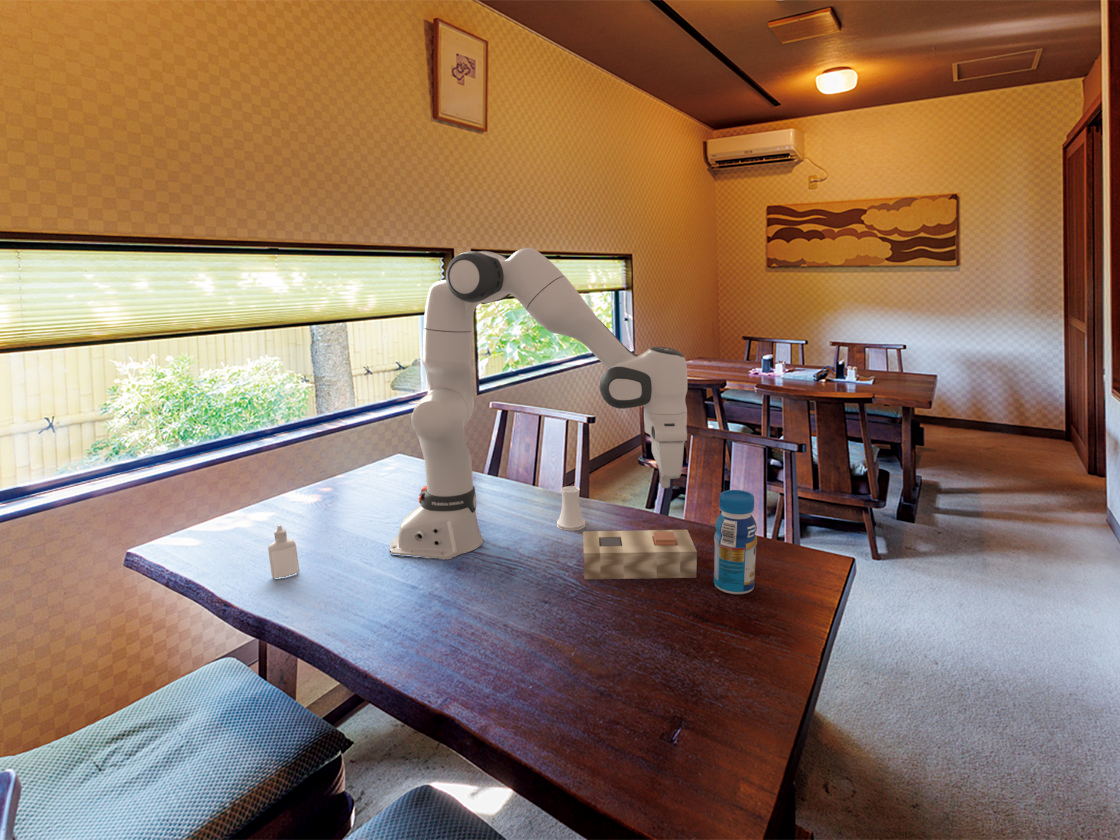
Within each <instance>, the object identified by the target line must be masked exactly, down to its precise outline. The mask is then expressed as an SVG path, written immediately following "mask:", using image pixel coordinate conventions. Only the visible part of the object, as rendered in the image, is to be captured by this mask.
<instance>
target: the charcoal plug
mask: <svg viewBox="0 0 1120 840" xmlns="http://www.w3.org/2000/svg"><path fill="white" fill-rule="evenodd" d="M600 546H621V542H620V537H618V538H600Z"/></svg>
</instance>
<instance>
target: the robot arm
mask: <svg viewBox="0 0 1120 840" xmlns="http://www.w3.org/2000/svg"><path fill="white" fill-rule="evenodd" d="M510 296H513V297H514V298H515V299H516V300H517V301H518V302H519V303H520V304H521V305H522V307H523V308H524V309H525V310H526V311H527V313H528V314H529V315H530V316H531V317H532V319H534V321H536V323H538V324H540V325H541V326H542V327H543V328H545V330H546V331H548V332H550V333H553V334H558V335H562V336H566V337H569V338H572V339H574V340H577V341H578V342H580V343H582V344H583V345H584V346H585V347H586V348H587V349H588V350H589V351H591V354H593V356H595V357H596V358H597V359H598V360H599V361H600V362H601V363H602V365H603V366H605V368H606V369H607V370H606V371H605V372H604V374H603V375H602V376H601V378H600V381H599V392H600V395H601V397H602V399H603V400H604V402H605V403H606V404H608V405H609V406H610V407H612V408H615V409H631V408H637V407H644V432H645V433H646V434H647V435H649V436H650V440H651V453H652V456H653V458H654V461H655V462H656V465H657V467H658V472H659V484H660V487H661V488H663V489H669V488H670V487H671V480H673V479H677V480H678V479H679V478H680V477H681V474H682V470H683V462H684V450H685V449H684V448H685V445H684V442H686V441H688V429H687V427H688V425H687V424H688V408H687V403H686V396H687V392H688V367H687V362H686V358H685V356H684V355H683V353H682V352H681V351H679V350H676V349H674V348H671V347H666V346H652V347H649V348H648V349H647V350H646V351H644V352H643V353H641V354H639V355H638V354H636V353H634V352H632V351H631V350H630V349H628V348H627V347H626V346H625V345H624V344H623V343H622V342H621V341H620V340H619V338H618V337H617V336H616V335H615V334H614V333H613V332H612V331H611V329H609V328H608V327H607V326H606V325H605V324H604V323H603V322H602V321H601V319H599V318H598V317H597V315H596V314H595V313H594V311H593V310H592V308H591V307H590V306H589V305H588V303H586V301H585V300H584V298H583V297H582V296H581V294H580V293H579V291H578V290H577V289H576V288H575V287H574V285H573V284H572V283H571V282H570V280H569V279H568V278H567V277H566V276H565V275H564V274H563V273H562V271H561V270H560V269H559V268H558V267H557V266H556V265H555V264H554V263H553V262H552V261H551V260H549V258H547V257H546V256H545V255H544V254H542V253H541V252H539V251H538V250H537V249H535V248H532V247H524V248H521V249H519V250H516V251H515V252H513V253H512V254H511V255H510V256H509V257H508V256H505V255H503V254H501V253H495V252H493V251H487V250H481V251H474V250H473V251H471V250H469V251H465V252H461V253H458V255H456V256H454V257H453V258H452V259H451V261H449V263H448V265H447V268H446V271H445V279H442V280H437V281H436V282H434V283H433V284H432V285H431V286H430V288H429V289H428V294H427V297H426V302H425V309H424V317H423V332H422V333H423V337H422V340H423V341H422V342H423V343H422V364H423V366H424V368H425V373H426V381H427V394H426V395H425V396H423V397H421V398H420V399H419V400H418V401H417V403H416V405H415V406H414V408H413V411H412V413H411V418H410V419H411V427H412V429H413V431H414V433H415V434H416V435H417V438H418V441H419V444H420V445H419V446H420V448H421V452H422V455H423V461H424V469H425V479H426V481H425V482H426V485H424V486H423V487H422V489H420V493H419V495H418V496H419V497H418V503H419V505H418V506H417V507H416V508H414V510H412V511H411V512H410V513H408V515H407V516H406V517H404V519H403V520H402V521H401V523H400V526H399V530H398V535H396V536H395V537H394V538H393V539H392V541H391V543H390V546H389V552H390V551H391V553H392V554H400V555H411V556H420V557H429V558H428V559H431V558H439V559H438V560H445V559H447V560H451V559H453V557H454V558H456V557H457V556H459V555H462V554H467V553H469V552H472V551H474V550H476V549H478V548H479V547H481V545H483V543H484V539H483V536H482V533H481V531H480V527H479V522H478V517H477V512H476V511H477V492H476V487H475V486H474V481H473V480H474V479H473V463H472V456H471V455H472V454H471V453H470V451H469V448H468V444H467V441H466V435H465V425H466V424H467V423H468V422H469V420H470V419H471V417H472V415H473V413H474V411H475V410H474V408H475V399H474V387H473V375H472V374H473V373H472V345H473V318H474V312H475V310H476V308H477V307H478V306H479V305H480V304H481V305H486V304H491V303H494V302H500V301H502V300H505V299H507V298H509V297H510ZM393 548H394V549H393ZM391 553H390V554H391Z"/></svg>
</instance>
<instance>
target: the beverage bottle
mask: <svg viewBox="0 0 1120 840" xmlns="http://www.w3.org/2000/svg"><path fill="white" fill-rule="evenodd" d="M718 504H719V505H718V507H719V510H720V511H721V512H720V514H719V515H718V517H717V518H716V519H715V524H714V527H715V529H716V530H715V532H714V535H713V541H714V563H713V565H714V567H713V568H714V570H713V572H714V573H713V583H714V586H715V588H716V589H718V590H719V591H721V592H723V593H726V594H730V595H744V594H748V593H750V592H752V591H753V590H754V588H755V582H756V581H755V574H756V554H757V545H758V536H757V535H756V532H757V530H758V526H757V522H756V520H755V518H754V516H753V515H752V514H753V512H754V509H755V496H754V494H753V493H751V492H749V491H746V490H742V489H741V490H740V489H728V490H724V491H722V492H720V494H719V503H718Z"/></svg>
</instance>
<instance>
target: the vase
mask: <svg viewBox="0 0 1120 840" xmlns="http://www.w3.org/2000/svg"><path fill="white" fill-rule="evenodd" d="M580 490H581V489H580V487H577V486H574V485H570V486H569V485H568V486H563V487H561V488H560V491H561V492H560V493H561V511H560V514H559V518H558V519H557V520H556V527H557V528H558V529H559V530H562V529H563V531H569V530H570V531H571V532H572V531H577V530H582V529H584V528H585V527H586V519H584V517H583V513H582V511H581V506H580Z"/></svg>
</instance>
